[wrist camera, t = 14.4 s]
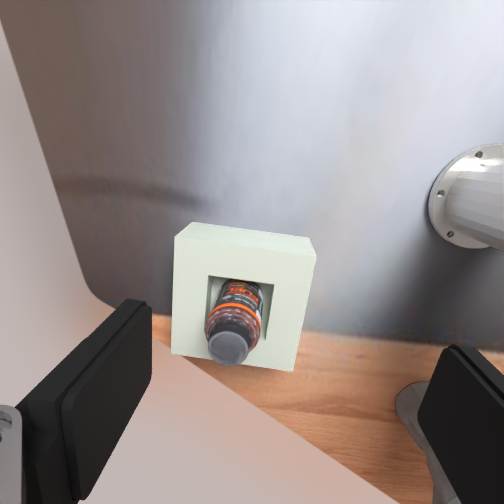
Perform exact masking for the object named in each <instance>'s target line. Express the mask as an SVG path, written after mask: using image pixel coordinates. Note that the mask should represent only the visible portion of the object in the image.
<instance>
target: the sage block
mask: <svg viewBox="0 0 504 504" xmlns="http://www.w3.org/2000/svg"><path fill="white" fill-rule="evenodd" d="M316 257H317V256H316V253H315V251H314V249H313V246H312V244H311V242H310V239H309V238H308V237H300V236H293V235H286V234H278V233H271V232H263V231H256V230H249V229H241V228H234V227H226V226H219V225H212V224H204V223H197V222H192V223H190V224H189V225H188V226H187V227H186V228H185V229H183V230H182V231H181V232H180V233H179V234H177V235H176V236H175V244H174V274H173V304H172V334H171V354H176V355H182V356H189V357H196V358H203V359H210V360H213V359H212V357H211V356H210V354H209V352H208V341H207V339H206V336H205V324H206V321H207V319H208V316H209V314H210V311H211V309H212V306H213V304H214V302H215V299H216V297H217V295H218V292H219V290H220V288H221V286H222V285H223V284H224V282H225V281H227V280H228V279H230V278H232V279H240V280H247V281H254V282H256V283H257V284H258V285H259V286H260V288H261V290H262V293H263V311H262V323H261V333H260V338H259V341H258V343H257V345H256V346H255V348H254V349H253V350H252V351H250V352H249V353H248V356H247V358H246V359H245V360H244V361H243V362H242V363H240V364H244V365H251V366H257V367H264V368H271V369H278V370H285V371H291V372H293V368H294V363H295V358H296V353H297V348H298V344H299V339H300V334H301V329H302V325H303V320H304V315H305V310H306V305H307V301H308V296H309V291H310V286H311V281H312V277H313V272H314V267H315V262H316Z"/></svg>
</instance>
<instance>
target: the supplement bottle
mask: <svg viewBox="0 0 504 504" xmlns="http://www.w3.org/2000/svg"><path fill="white" fill-rule="evenodd" d="M262 311H263V293H262V290H261V288H260V286H259V285H258V284H257V283H256V282H254V281H247V280H240V279H232V278H230V279H228V280H227V281H225V282H224V284H223V285H222V286H221V288H220V290H219V292H218V295H217V297H216V299H215V302H214V304H213V306H212V309H211V311H210V314H209V316H208V319H207V321H206V324H205V336H206V339H207V341H208V352H209V354H210V356H211V357H212V359H213V360H214V361H216V362H217V363H219V364H221V365H224V366H235V365H238V364H240V363H242V362H243V361H244V360H245V359H246V358H247V356H248V353H249V352H250V351H252V350H253V349H254V348H255V346H256V345H257V343H258V341H259V338H260V333H261V323H262Z"/></svg>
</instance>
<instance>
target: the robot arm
mask: <svg viewBox="0 0 504 504" xmlns="http://www.w3.org/2000/svg"><path fill="white" fill-rule="evenodd" d="M475 154H476V156H475ZM438 191H439V193H438ZM437 193H438V194H437ZM428 212H429V217H430V221H431V223H432V225H433V227H434V229H435V230H436V232H437V233H438V234H439V235H440V236H441V237H442V238H444V239H445V240H446V241H448V242H450V243H452V244H454V245H457V246H460V247H463V248H470V249H478V248H486V247H491V246H492V247H494V248H496V249H499V250H501V251H503V252H504V144H490V145H484V146H480V147H476V148H473V149H471V150H469V151H466V152H464V153H463V154H461V155H460V156H458V157H457V158H455V159H454V160H453V161H452V162H451V163H449V164H448V165H447V166H446V167H445V168H444V170H443V171H442V172H441V173H440V175H439V176H438V178H437V179H436V181H435V183H434V185H433V187H432V190H431V193H430V197H429V203H428ZM151 375H152V308H151V307H150V306H147V303H146V302H145V301H140V300H133V299H126V300H125V301H124V302H123V303H122V304H121V305H120V306H119V307H118V308H117V309H116V310H115V311H114V312H113V313H112V314H111V315H110V316H109V317H108V318H107V319H106V320H105V321H104V322H103V323H102V324H101V325H100V326H99V327H98V328H97V329H96V330H95V331H94V332H93V333H91V334H90V335H89V337H87V338H85V339H84V340H83V341H82V342H81V343H80V344H79V345H78V346H77V347H76V348H75V349H74V350H73V351H72V352H71V353H70V354H69V355H67V357H66V358H64V359H63V360H62V361H61V362H60V363H59V364H58V365H57V366H56V367H55V368H54V369H53V370H52V371H51V372H50V373H49V374H48V375H47V376H46V377H45V378H44V379H43V380H42V381H41V382H40V383H39V384H38V385H37V386H36V387H35V388H34V389H33V390H32V391H31V392H30V393H29V394H28V395H27V396H26V397H25V398H24V399H23V400H22V401H21V402H20V403H19V404H18V405H17V406H15V407H12V406H8V405H0V504H77V503H78V502H79V500H85V499H86V498H87V497H88V496H89V494H90V493H91V491H92V489H93V487H94V485H95V483H96V481H97V480H98V478H99V476H100V474H101V472H102V470H103V468H104V467H105V465H106V463H107V461H108V459H109V457H110V456H111V454H112V452H113V450H114V448H115V446H116V444H117V443H118V441H119V439H120V437H121V435H122V433H123V431H124V430H125V427H126V426H127V424H128V422H129V420H130V418H131V417H132V415H133V413H134V411H135V409H136V407H137V406H138V404H139V402H140V400H141V398H142V396H143V394H144V393H145V391H146V389H147V387H148V385H149V383H150V380H151ZM417 420H418V424H419V426H420V428H421V430H422V431H423V433H424V435H425V437H426V439H427V441H428V443H429V445H430V446H431V448H432V450H433V452H434V454H435V456H436V458H437V459H438V461H439V463H440V465H441V467H442V469H443V471H444V472H445V474H446V476H447V478H448V480H449V482H450V484H451V485H452V487H453V489H454V491H455V493H456V495H457V497H458V499H459V500H460V502H461V504H504V375H503V374H502V373H501V372H500V371H499V370H497V369H496V368H495V367H494V366H493V365H492V364H491V363H490V362H489V361H488V360H487V359H486V358H485V357H484V356H483V355H482V354H481V353H480V352H479V351H478V350H477V349H475V348H474V347H470V346H463V345H456V344H452V345H450V346H448V348H445V349H444V350H443V351H442V353H441V355H440V358H439V360H438V363H437V365H436V368H435V370H434V373H433V375H432V378H431V380H430V383H429V385H428V388H427V390H426V392H425V395H424V397H423V400H422V402H421V405H420V407H419V410H418V413H417Z"/></svg>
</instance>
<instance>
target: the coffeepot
mask: <svg viewBox="0 0 504 504" xmlns="http://www.w3.org/2000/svg"><path fill="white" fill-rule="evenodd" d="M429 383H430V381H422V382H417V383H414V384H411V385H409V386H407V387H406V388H404V389H403V390H402V391H401V392H400V393H399V395H398V396H397V397H396V404H395V405H396V412H397V416H398V418H399V419H400V420H401V422H402V423H403V425H404V426H405V427H406V429H407V430H408V432H409V433H410V434H411V436H412V437H413V439H414V440H415V442H416V443H417V444H418V446H419V447H420V448H421V449H422V450H423V451H424V452H425V454H426V457H427V466H428V468H429V471H430V474H431V477H432V480H433V483H434V484H433V504H461V502H460V500H459V499H458V497H457V495H456V493H455V491H454V489H453V487H452V485H451V484H450V482H449V480H448V478H447V476H446V474H445V472H444V471H443V469H442V467H441V465H440V463H439V461H438V459H437V458H436V456H435V454H434V452H433V450H432V448H431V446H430V445H429V443H428V441H427V439H426V437H425V435H424V433H423V431H422V430H421V428H420V426H419V424H418V420H417V413H418V410H419V407H420V405H421V402H422V400H423V397H424V395H425V392H426V390H427V388H428V385H429Z"/></svg>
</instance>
